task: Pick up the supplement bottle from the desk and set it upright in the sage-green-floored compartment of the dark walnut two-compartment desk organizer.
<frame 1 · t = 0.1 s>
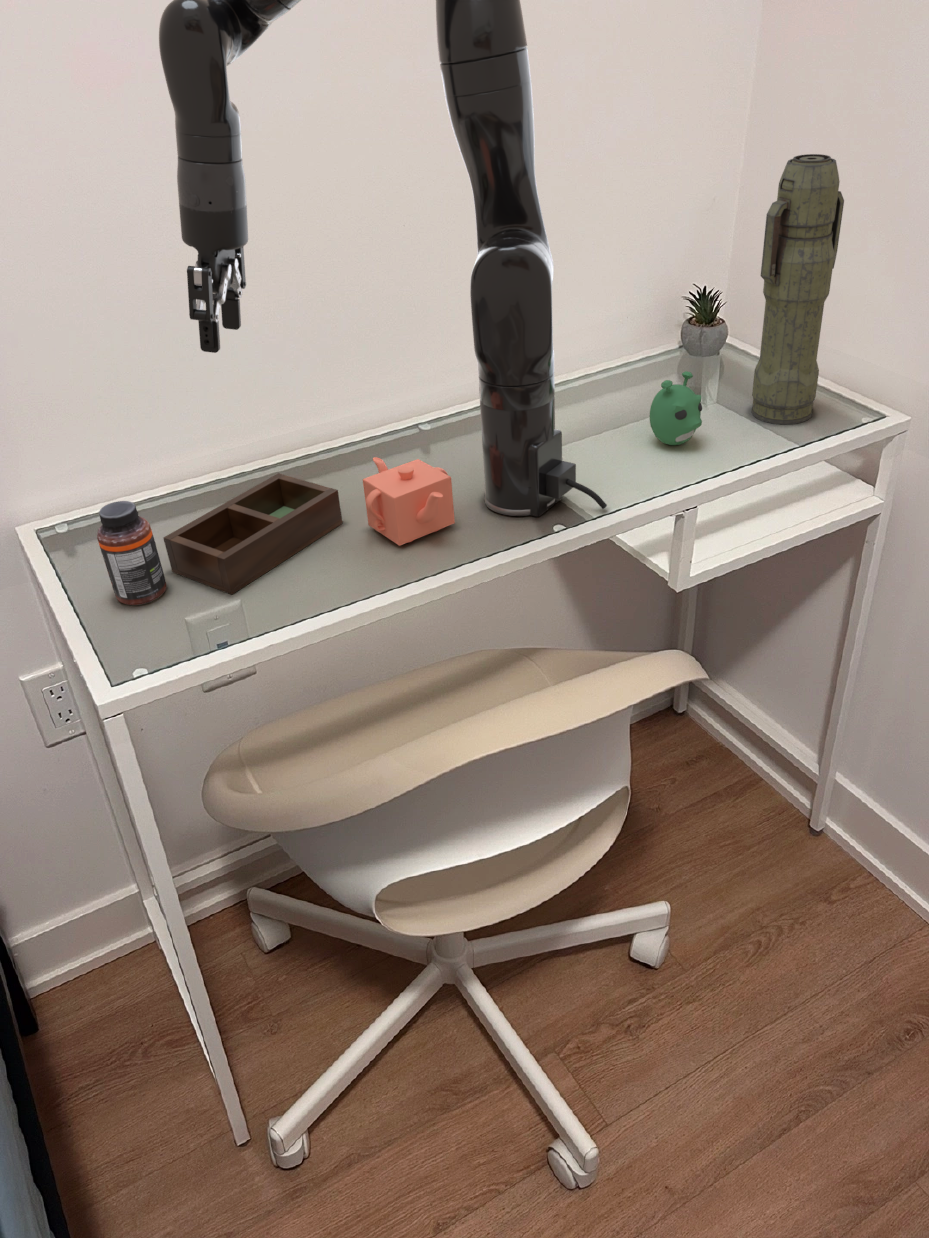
hand: (221, 339, 123), 22 cm above the table, tool pointing down, fingers open, 8 cm apart
supplement bottle: (142, 595, 118), on the table
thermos: (781, 414, 149), on the table
teapot: (412, 530, 127), on the table
alien toy: (675, 445, 143), on the table
organizer: (260, 547, 126), on the table
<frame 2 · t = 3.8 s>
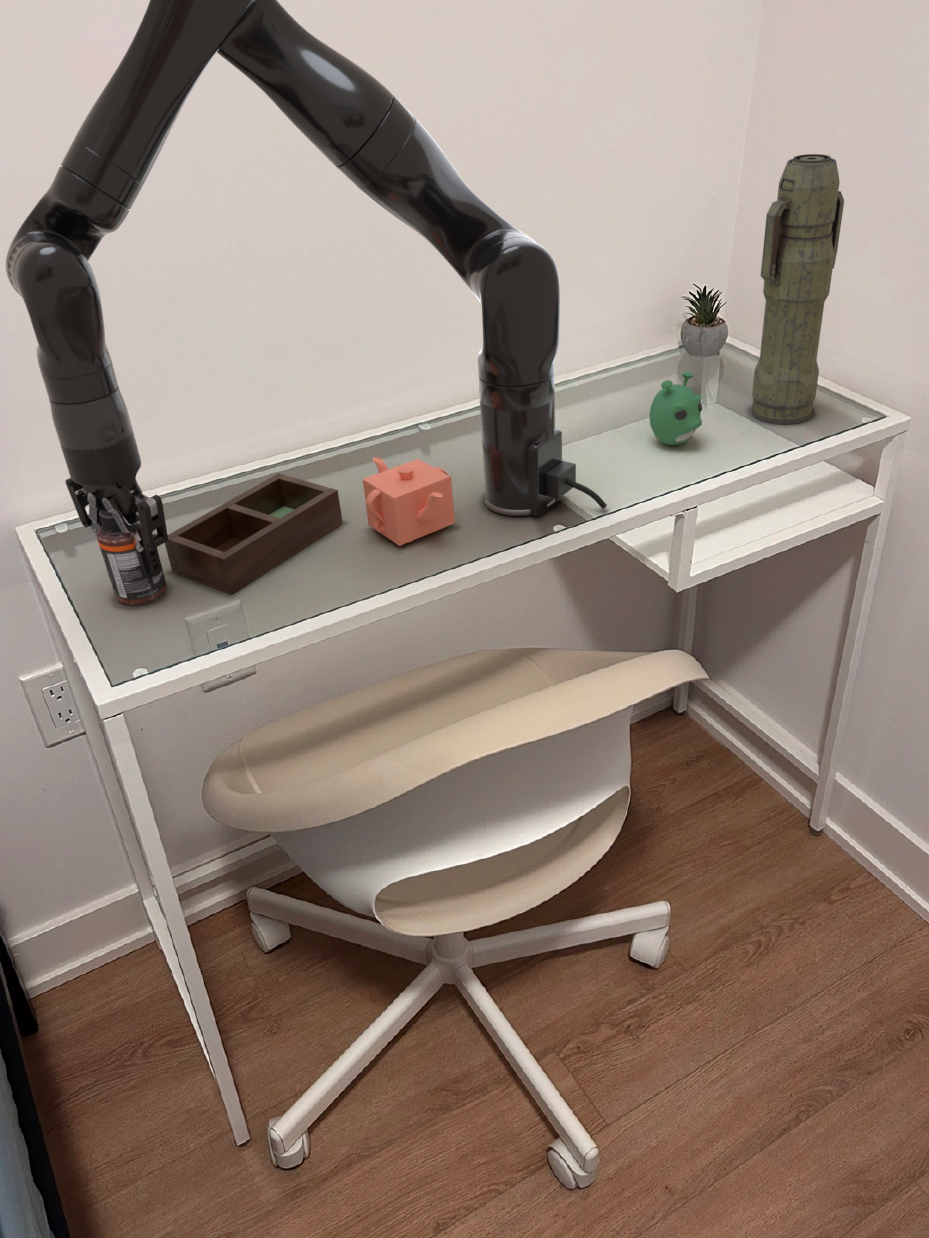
hand: (134, 567, 116), 4 cm above the table, tool pointing down, fingers closed on supplement bottle, 6 cm apart
supplement bottle: (142, 595, 118), on the table, touching gripper
everything else where it was.
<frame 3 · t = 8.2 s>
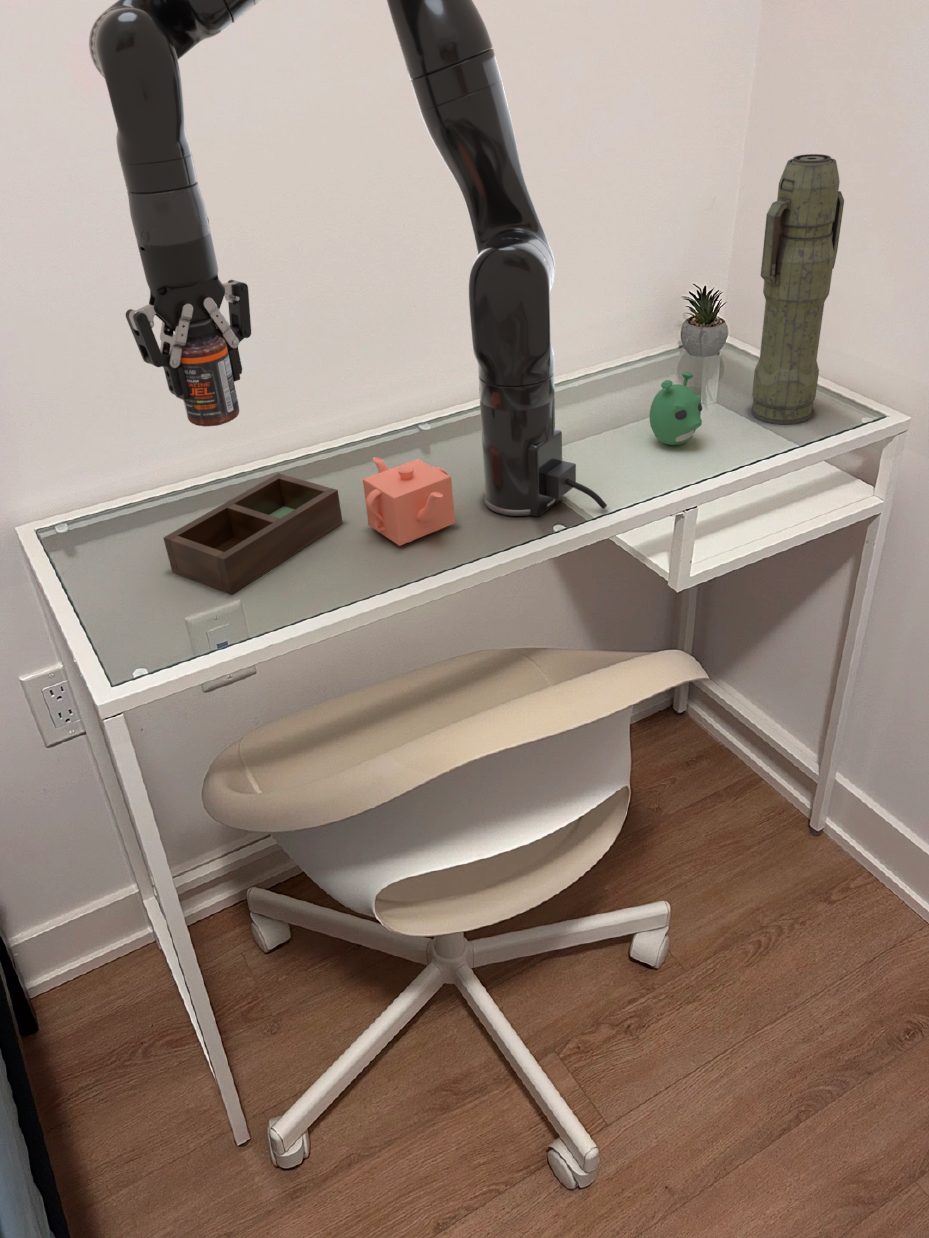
hand: (208, 388, 113), 21 cm above the table, tool pointing down, fingers closed on supplement bottle, 6 cm apart
supplement bottle: (215, 419, 115), point 17 cm above the table, touching gripper
everything else where it was.
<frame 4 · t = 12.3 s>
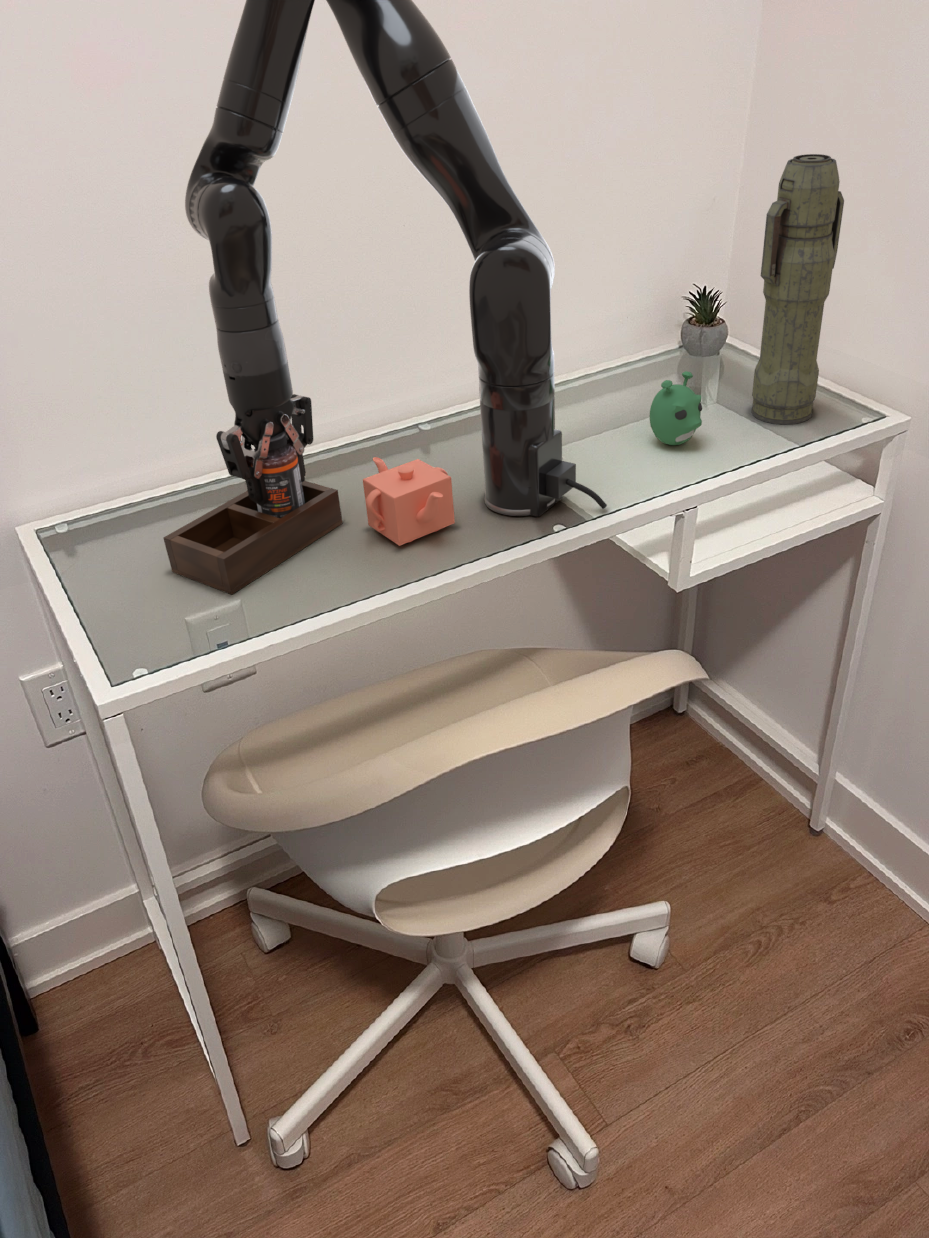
hand: (279, 491, 125), 6 cm above the table, tool pointing down, fingers closed on supplement bottle, 6 cm apart
supplement bottle: (284, 518, 128), point 2 cm above the table, touching gripper
everything else where it was.
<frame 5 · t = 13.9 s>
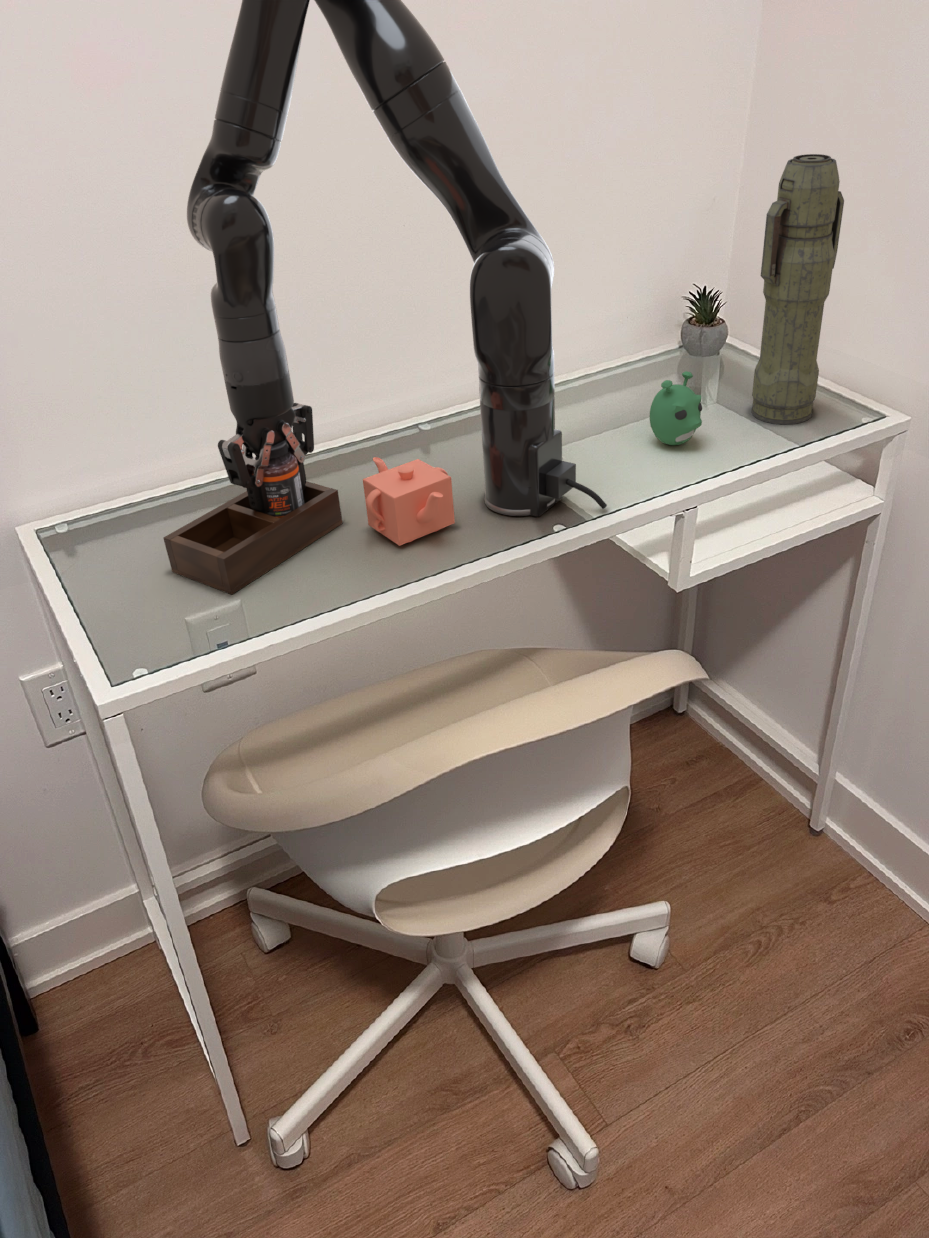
hand: (279, 499, 126), 5 cm above the table, tool pointing down, fingers closed on supplement bottle, 6 cm apart
supplement bottle: (284, 526, 128), point 1 cm above the table, touching gripper
everything else where it was.
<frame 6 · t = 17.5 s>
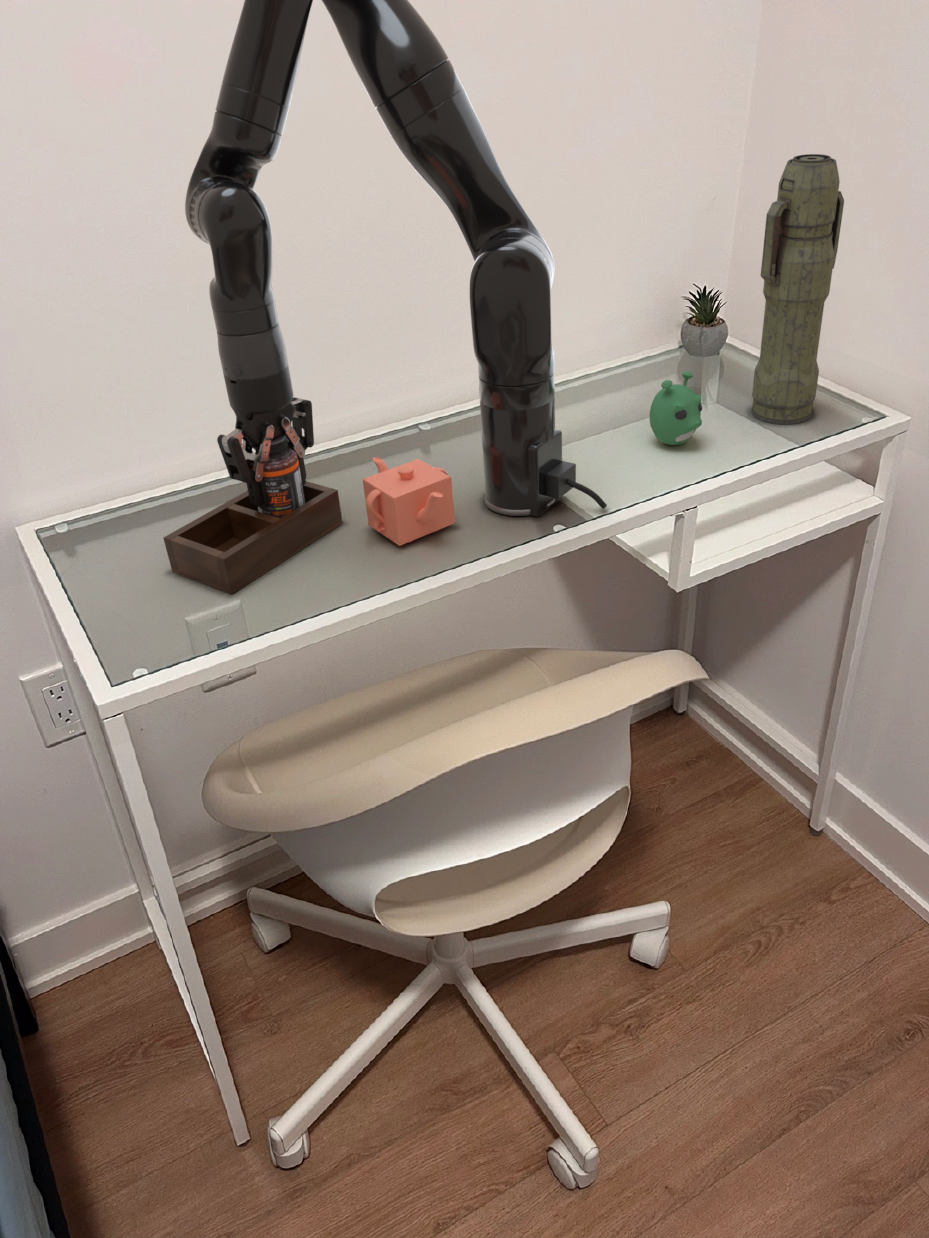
hand: (280, 494, 126), 5 cm above the table, tool pointing down, fingers closed on supplement bottle, 6 cm apart
supplement bottle: (284, 521, 128), point 1 cm above the table, touching gripper
everything else where it was.
when the fingers open (6 cm above the table, at t = 20.9 s): supplement bottle drops 1 cm, resting on organizer.
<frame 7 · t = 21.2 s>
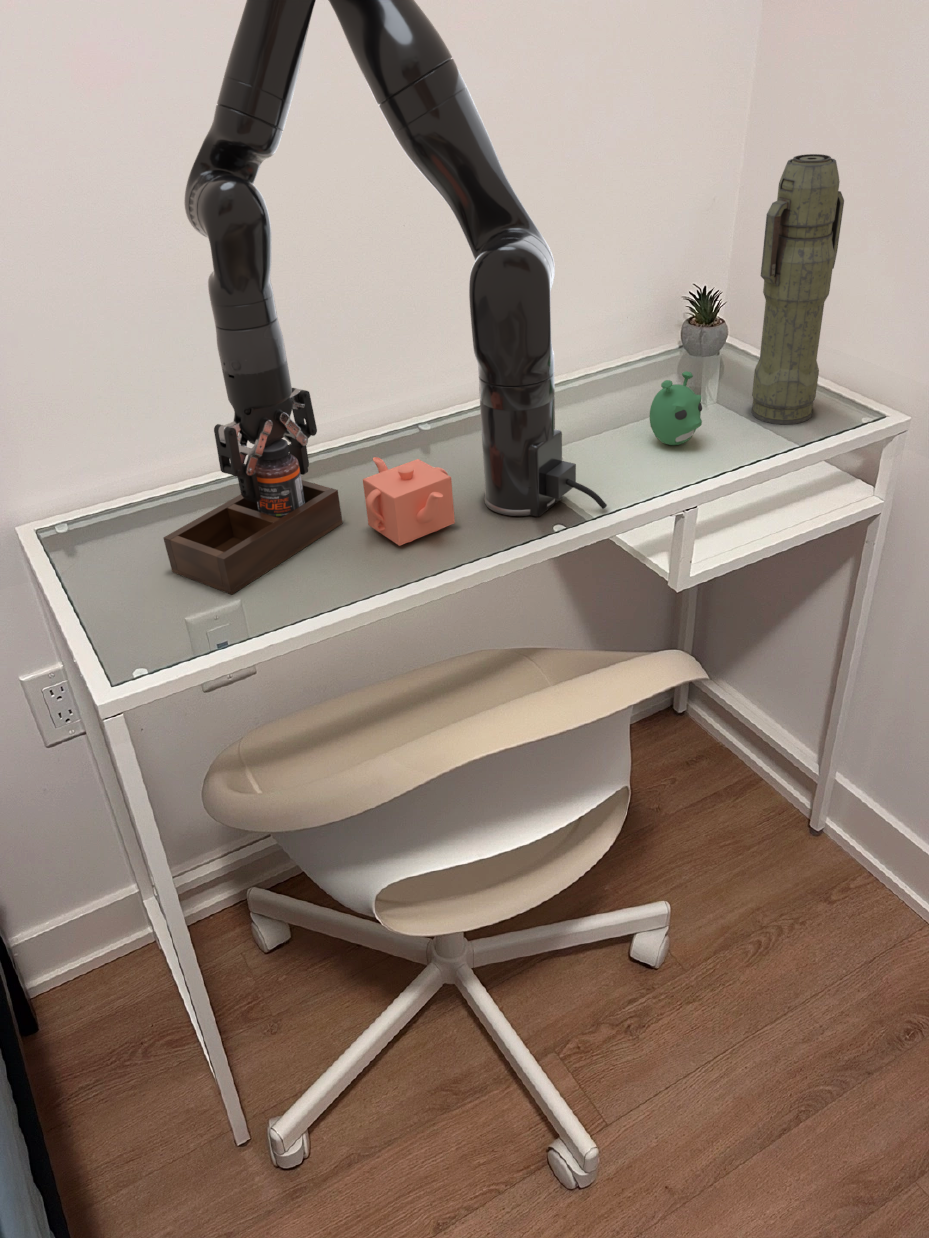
hand: (277, 486, 125), 6 cm above the table, tool pointing down, fingers open, 8 cm apart
supplement bottle: (285, 527, 128), point 1 cm above the table, touching organizer
everything else where it was.
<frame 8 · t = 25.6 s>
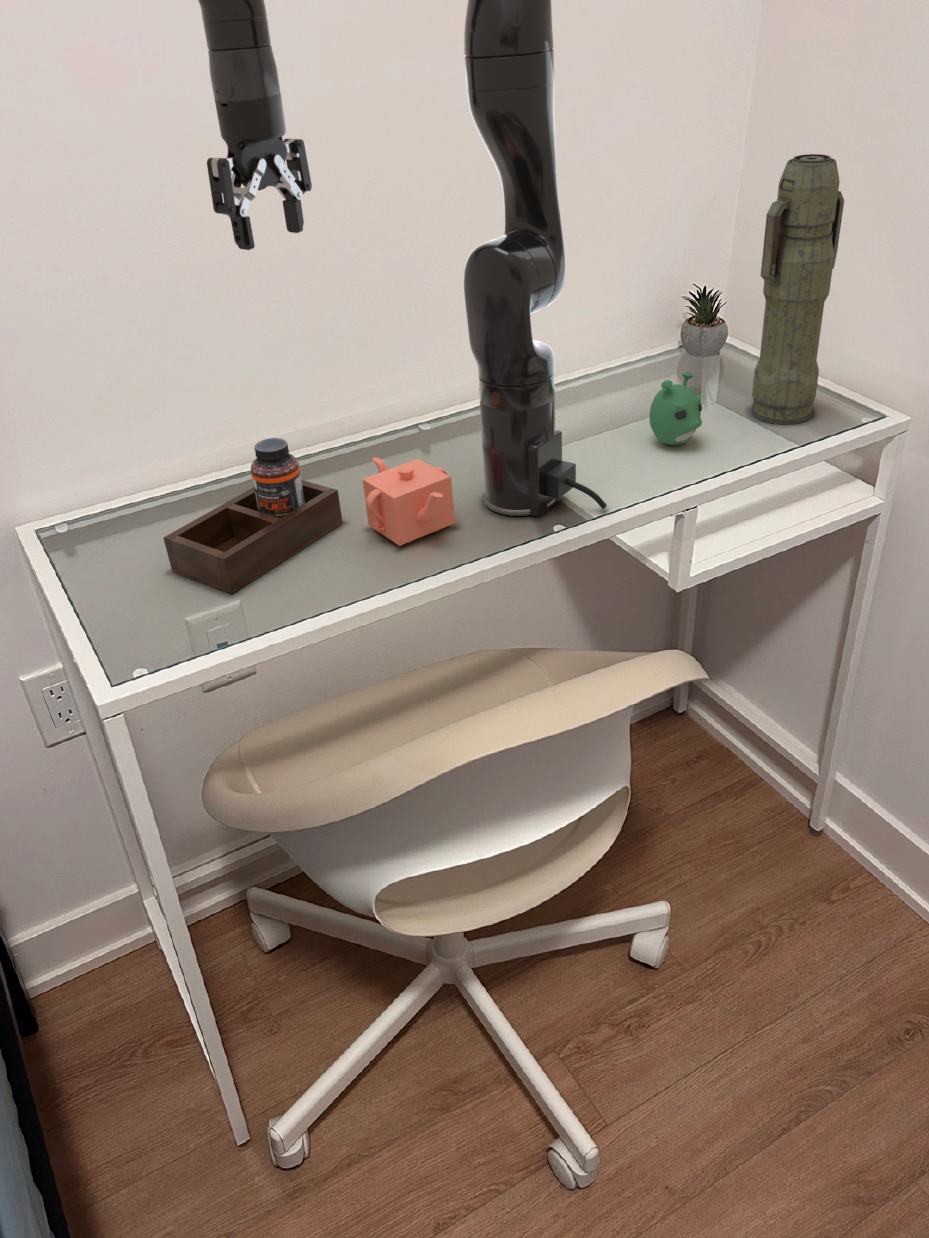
hand: (271, 240, 124), 32 cm above the table, tool pointing down, fingers open, 8 cm apart
nothing on the table moved.
at the end: supplement bottle 0.2 cm from the target spot in the organizer, point 0.6 cm above the organizer's base; supplement bottle tilted 0°; the gripper is holding nothing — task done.
